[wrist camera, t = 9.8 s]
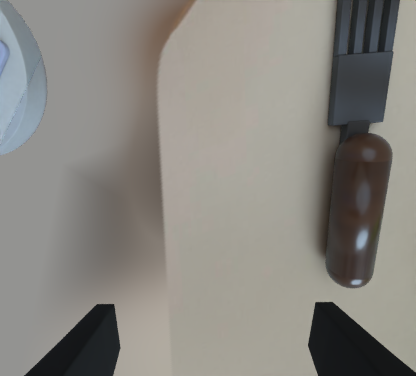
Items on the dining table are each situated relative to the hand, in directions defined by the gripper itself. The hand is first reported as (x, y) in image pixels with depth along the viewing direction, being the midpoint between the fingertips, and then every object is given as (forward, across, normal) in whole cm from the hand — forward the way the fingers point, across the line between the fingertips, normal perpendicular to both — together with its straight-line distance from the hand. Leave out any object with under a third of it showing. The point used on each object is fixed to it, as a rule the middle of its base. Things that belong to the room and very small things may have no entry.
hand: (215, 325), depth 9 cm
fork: (+9, -9, -5) cm, 14 cm away
